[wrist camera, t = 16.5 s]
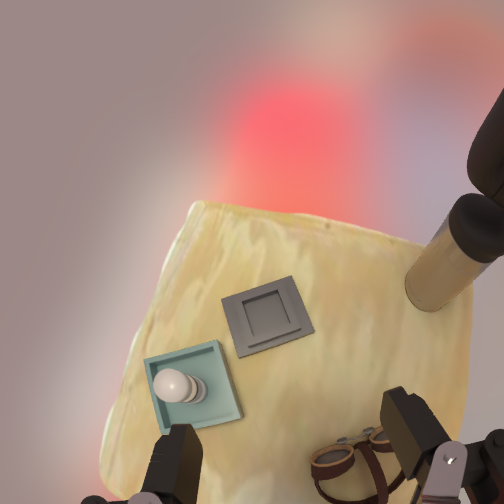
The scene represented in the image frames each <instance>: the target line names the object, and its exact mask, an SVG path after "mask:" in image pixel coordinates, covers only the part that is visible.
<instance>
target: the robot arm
mask: <svg viewBox="0 0 504 504" xmlns="http://www.w3.org/2000/svg"><path fill="white" fill-rule="evenodd" d="M467 172H468V177H469V179H470V181H471V182H472V184H473V185H474V186H475V187H476V188H477V189H478V190H479V191H480V192H481V193H483V194H484V195H485V196H484V195H481V194H475V193H469V194H465V195H463V196H461V197H460V198H459V199H458V200H457V201H456V203H455V204H454V206H453V207H452V209H451V211H450V212H449V214H448V215H447V217H446V219H445V220H444V222H443V223H442V225H441V227H440V228H439V230H438V231H437V233H436V234H435V236H434V237H433V239H432V240H431V241H430V243H429V244H428V246H427V247H426V249H425V250H424V251H423V253H422V254H421V256H420V257H419V258H418V260H417V261H416V262H415V264H414V265H413V267H412V268H411V269H410V271H409V272H408V274H407V276H406V280H405V288H406V292H407V295H408V297H409V299H410V300H411V302H412V303H413V304H414V305H415V306H416V307H418V308H419V309H421V310H423V311H427V312H434V311H437V310H439V309H440V308H442V307H443V306H444V305H445V304H447V303H448V302H449V301H450V300H452V299H453V298H454V297H455V296H457V295H458V294H459V293H460V292H461V291H462V290H464V289H465V288H466V287H467V286H468V285H469V284H470V283H471V282H473V281H474V280H475V279H476V278H477V277H478V276H479V275H480V274H481V273H482V272H483V271H484V270H485V269H486V268H487V267H488V266H489V265H491V263H493V262H494V261H495V260H496V259H497V258H498V257H500V256H503V255H504V89H503V90H502V92H501V94H500V95H499V97H498V99H497V101H496V102H495V104H494V106H493V107H492V109H491V111H490V112H489V114H488V115H487V117H486V119H485V120H484V123H483V124H482V126H481V127H480V129H479V131H478V132H477V135H476V137H475V139H474V141H473V143H472V146H471V148H470V151H469V155H468V160H467ZM380 421H381V425H382V427H383V429H384V431H385V434H386V436H387V438H388V440H389V442H390V444H391V446H392V448H393V450H394V452H395V455H396V457H397V459H398V461H399V463H400V465H401V468H402V470H403V472H404V474H405V476H406V479H407V481H409V480H411V479H413V478H416V479H417V482H418V484H417V486H416V489H415V491H414V494H413V496H412V499H411V501H410V504H460V503H461V501H460V500H459V499H458V496H459V492H460V488H463V487H464V489H465V491H466V493H467V495H468V497H469V500H470V502H471V504H504V429H497V430H494V431H492V432H490V433H489V434H488V436H487V437H486V439H485V440H483V441H479V442H475V443H471V444H466V445H463V444H462V443H460V442H457V441H452V440H451V439H450V438H449V436H448V435H447V433H446V432H445V430H444V429H443V427H442V426H441V424H440V423H439V421H438V420H437V418H436V417H435V415H433V412H432V411H431V410H430V409H429V407H428V405H427V404H426V402H425V401H424V400H423V399H422V398H421V397H419V396H418V395H416V394H414V393H413V394H411V395H408V394H407V393H406V391H405V390H404V388H403V387H401V386H399V387H396V388H393V389H390V390H387V391H385V392H384V393H383V399H382V405H381V411H380ZM202 459H203V448H202V444H201V442H200V440H199V438H198V436H197V434H196V432H195V430H194V428H193V426H192V425H191V424H172V426H171V429H170V432H169V435H162V436H161V437H160V439H159V440H158V441H157V442H156V443H155V446H154V450H153V455H152V456H151V459H150V461H151V462H150V463H149V466H148V469H147V473H146V476H145V479H144V483H143V486H142V489H141V491H140V493H137V494H135V495H133V496H132V497H131V498H130V499H129V500H125V501H112V502H107V501H106V500H105V499H104V498H102V497H100V496H94V495H93V496H89V497H86V498H85V499H84V500H83V501H82V502H81V504H196V502H197V494H198V487H199V480H200V473H201V466H202Z"/></svg>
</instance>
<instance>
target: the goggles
mask: <svg viewBox="0 0 504 504" xmlns="http://www.w3.org/2000/svg"><path fill="white" fill-rule="evenodd" d="M370 433H371V434H370ZM364 434H370V436H369V440H368V441H365V442H364V441H362V442H358V443H357V444H355V445H354V446H350V445H344V443H346V442H347V441H348V440H350V439H352V440H355V439H358V438H360V437H363V436H364ZM370 443H371V447H372V449H371V448H370V447H369V445H368V444H370ZM337 444H338V445H334V446H330V447H327V448H324V449H322V450H320V451H318V452H316V453H315V454H314V455H313V456H312V457H311V458H310V463H311V472H312V477H313V478H314V480H315V486H316V488H317V490H318V492H319V494H320V495H321V496H322V497H323V498H324V499H325V500H327V501H328V502H330V503H332V504H387V502H388V498H389V496H388V495H389V494H391V493H392V492H393V491H394V490H396V489H397V488H398V487H399V485H400V484H401V483H402V482H403V481H404V480H405V478H406V476H405V474H404V472H403V470H402V471H401V473H400V474H399V476H398V477H397V478H396V479H395V480H394V481H393V483H392V484H391V485H389V486H388V487H387V483H386V479H385V476H384V473H383V470H382V468H381V465H380V463H379V461H378V459H377V457H376V455H375V454H374V452H373V451H372V450H374V451H376V452H382V453H389V452H394V450H393V448H392V446H391V444H390V442H389V440H388V438H387V436H386V434H385V431H384V429H383V427H380V428H378V429H376V430H375V431H374V428H373V427H369V428H366V429H364V431H363V434H362V436H359V437H357V438H348V439H347V438H346V437H345V438H340V439H338V440H337ZM341 444H342V445H341ZM357 448H358V449H359V450H360V451H361V453H362V454H363V456H364V458H365V459H366V461H367V463H368V466H369V468H370V470H371V473H372V475H373V478H374V481H375V485H376V488H377V493H378V494H377V495H375V496H372V497H370V498H367V499H365V500H361V501H349V502H347V501H340V500H336V499H334V498H332V497H329V496H328V495H327V494H325V493H324V492H323V491H322V490H321V488H320V486H319V481H318V480H320V481H321V480H329V479H332V478H335V477H338V476H340V475H341V474H343V473H345V472H346V471H348V470H349V469H350V468H351V467H352V466H353V464H354V462H355V457H354V453H353V452H354V450H355V449H357Z"/></svg>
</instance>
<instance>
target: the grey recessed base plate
mask: <svg viewBox="0 0 504 504" xmlns="http://www.w3.org/2000/svg"><path fill="white" fill-rule="evenodd" d="M221 301H222V304H223V308H224V311H225V315H226V318H227V322H228V325H229V328H230V332H231V335H232V338H233V341H234V345H235V348H236V351H237V354H238V358H239V359H240V358H243V357H246V356H249V355H252V354H255V353H259V352H262V351H265V350H268V349H271V348H273V347H276V346H279V345H282V344H285V343H288V342H291V341H293V340H296V339H299V338H301V337H304V336H307V335H309V334H312V333H314V332H315V330H314V328H313V326H312V323H311V321H310V318H309V316H308V313H307V311H306V309H305V306H304V304H303V301H302V299H301V297H300V294H299V292H298V289H297V287H296V285H295V282H294V280H293V278H292V275H291V276H288V277H285V278H282V279H279V280H277V281H274V282H271V283H268V284H265V285H262V286H259V287H256V288H253V289H250V290H247V291H244V292H241V293H238V294H235V295H232V296H229V297H226V298H223V299H221Z"/></svg>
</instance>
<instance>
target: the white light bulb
mask: <svg viewBox="0 0 504 504" xmlns="http://www.w3.org/2000/svg"><path fill="white" fill-rule="evenodd" d="M153 387H154V391H155V393H156V395H157V396H158V397H159V398H160V399H161V400H163V401H165V402H173V403H180V402H181V403H191V404H197V403H201V402H202V401H204V400H205V399H206V397H207V395H208V387H207V385H206V383H205V382H204V381H203V380H202V379H200V378H197V377H194V376H190V375H187V374H185V373H183V372H180V371H177V370H174V369H170V368H169V369H163V370H161V371H160V372H159V373H158V374H157V375H156V376H155V378H154V382H153Z"/></svg>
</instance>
